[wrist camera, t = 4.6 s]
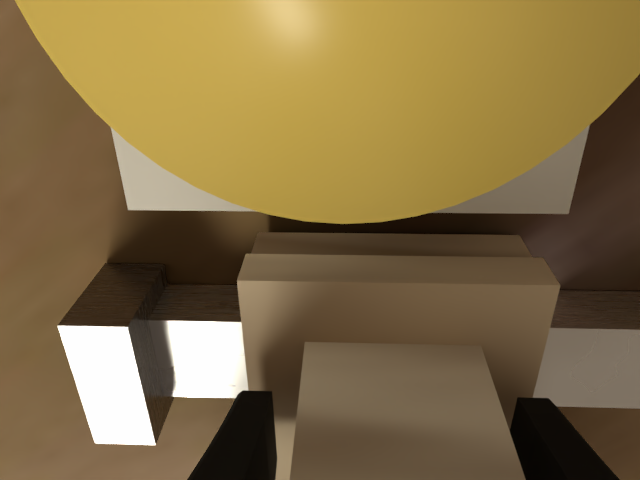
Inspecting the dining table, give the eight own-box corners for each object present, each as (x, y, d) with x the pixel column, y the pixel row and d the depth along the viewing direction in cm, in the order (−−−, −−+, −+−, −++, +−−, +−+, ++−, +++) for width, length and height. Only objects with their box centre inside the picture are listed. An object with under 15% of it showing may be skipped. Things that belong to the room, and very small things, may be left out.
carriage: (482, 423, 15) (573, 745, 9) (272, 418, 15) (222, 725, 9) (521, 223, 12) (699, 506, 6) (256, 220, 12) (167, 489, 6)
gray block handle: (867, 388, 14) (962, 469, 12) (131, 371, 15) (95, 443, 13) (942, 275, 12) (1069, 345, 10) (105, 263, 13) (57, 325, 11)
